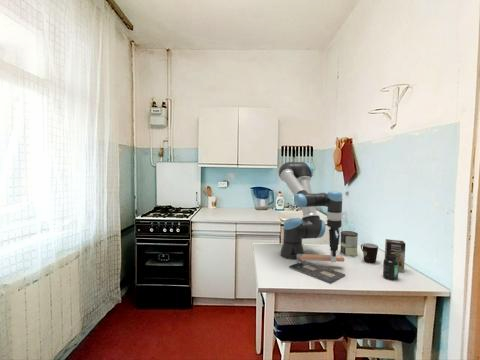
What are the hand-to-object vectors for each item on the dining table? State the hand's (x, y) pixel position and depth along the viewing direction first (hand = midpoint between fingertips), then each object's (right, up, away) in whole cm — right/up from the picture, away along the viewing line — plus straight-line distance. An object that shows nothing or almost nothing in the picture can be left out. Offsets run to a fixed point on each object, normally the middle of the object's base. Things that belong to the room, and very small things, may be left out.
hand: (333, 261), depth 149 cm
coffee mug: (+26, -4, +13) cm, 30 cm away
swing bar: (-7, 0, +4) cm, 7 cm away
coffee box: (+34, -5, 0) cm, 34 cm away
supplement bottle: (+26, -5, -11) cm, 28 cm away
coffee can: (+19, -3, +25) cm, 32 cm away
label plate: (-10, -5, -3) cm, 12 cm away
